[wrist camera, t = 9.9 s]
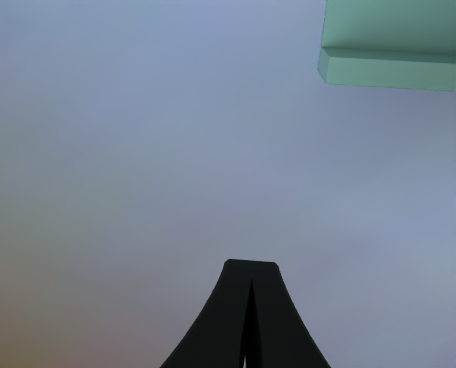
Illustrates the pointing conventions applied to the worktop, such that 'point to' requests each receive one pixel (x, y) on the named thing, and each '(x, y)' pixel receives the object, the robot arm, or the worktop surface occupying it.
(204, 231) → the worktop surface
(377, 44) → the tray
